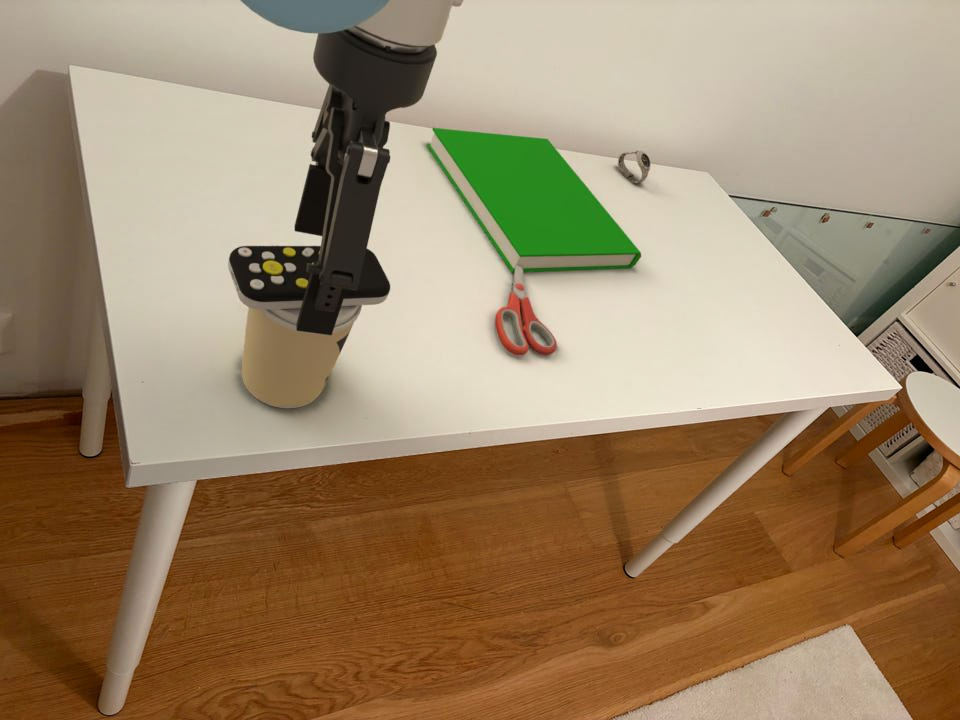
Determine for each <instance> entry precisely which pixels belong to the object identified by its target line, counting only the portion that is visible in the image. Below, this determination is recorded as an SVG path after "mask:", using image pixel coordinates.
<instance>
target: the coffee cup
mask: <svg viewBox="0 0 960 720" xmlns="http://www.w3.org/2000/svg"><path fill="white" fill-rule="evenodd" d="M362 307H363V305H356V306H341V309H340V312H339V315H338V318H337V321H336V324H335V327H334V330H333V333H332V335H325V334H317V333H309V332H302V331H297V330H296V323H297V320H298V316H299V313H300V309H301V308H292V309H271V310H256V309H252V308H250V307H248V309H247V316H246V325H245V333H244V342H243V350H242V359H241V379H242V382H243V384H244V386H245V388H246V389H247V391H248V392H249V394H251V395H252V396H253V397H254V398H255V399H257V400H258V401H260V402H262V403H263V404H265V405H268V406H270V407H275V408H279V409H296V408H302V407H305V406H307V405H309V404H311V403H312V402H314V401H315V400H317V398H319V396H320V395H321V393H322V392H323V391H324V388H325V386H326V385H327V382H328V380H329V378H330V376H331V375H332V374H331V373H332V372H333V370H334V367H335V365H336V363H337V361H338V359H339V357H340V355H341V352H342V350H343V348H344V346H345V343H346V341H347V339H348V337H349V336H350V333H351V331H352V328H353V326H354V323H355V322H356V320H358V317H359V316H360V315H361V314H360V313H361V310H362Z"/></svg>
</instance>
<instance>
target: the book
mask: <svg viewBox="0 0 960 720" xmlns="http://www.w3.org/2000/svg"><path fill="white" fill-rule="evenodd" d="M432 132H433V135H432V138H431V141H430V143H429V142H428V143H426V147H427V148H428V150H429V152H430V153H431V155H433V157H434V159H435V160H436V161H437V163H438V164H439V166H440V168H441V169H442V171H443V172H444V174H445V175H446V177H447V178H448V180H449V181H450V183H451V185H453V187H454V188H455V190H456V192H457V193H458V195H459V196H460V197H461V199H462V200H463V202H464V203H465V205H466V207H467V208H468V209H469V211H470V212H471V214H472V216H473V217H474V219H475V220H476V222H477V223H478V224H479V226H480V227H481V229H482V230H483V232H484V233H485V235H486V236H487V238H488V240H489V241H490V242H491V244H492V245H493V247H494V249H495V250H496V251H497V253H498V254H499V256H500V257H501V260H503V262H504V263H505V264H506V266H507V268H508V269H509V270H510V272H511V273H514V272H515V265H523V273H535V272H563V271H565V272H567V271H591V270H593V271H594V270H620V269H622V270H624V269H632V268H633V267H635V266H636V265H637V263H638V262H639V260H640V259H641V257H642V252H641V251H640V250H639V248H638V247H637V246H636V244H635V243H634V242H633V241H632V240H631V238H630V237H629V236H628V235H627V234H626V233H625V231H624V230H623V229H622V228H621V226H620V225H619V224H618V223H617V221H615V219H614V218H613V217H612V215H611V214H610V213H609V212H608V210H607V209H606V208H605V207H604V205H603V204H602V203H601V202H600V201H599V200H598V198H597V197H596V196H595V194H593V192H592V191H591V190H590V189H589V187H588V186H587V185H586V183H584V181H583V180H582V179H581V178H580V176H579V175H578V174H577V173H576V172H575V170H574V169H573V168H572V166H570V164H569V163H568V162H567V160H565V158H564V157H563V156H562V155H561V154H560V152H559V150H557V149H556V147H555V146H554V145H553V144H552V143H551V141H550V140H549V138H542V137H541V138H540V137H531V136H521V135H511V134H501V133H491V132H490V133H488V132H480V131H469V130H461V129H460V130H459V129H451V128H450V129H449V128H438V127H432Z"/></svg>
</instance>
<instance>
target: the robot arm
mask: <svg viewBox="0 0 960 720" xmlns="http://www.w3.org/2000/svg"><path fill="white" fill-rule="evenodd" d="M239 1H240V2H241V3H242V4H244V5H245V6H246V7H247V8H248V9H249V10H250V11H252V12H253V13H255V14H256V15H258V16H259V17H260V18H262V19H263V20H265V21H267V22H270V23H271V24H273V25H275V26H277V27H280V28H282V29H286V30H289V31H293V32H298V33H304V34H314V35H315V34H316V35H317V36H316V41H315V45H314V49H313V56H312V60H313V65H314V67H315V69H316V71H317V72H318V74H319V75H320V77H322V79H323V80H324V81H325V82H326V83H327V84H328V87H327V91H326V93H325V96H324V99H323V102H322V105H321V108H320V111H319V114H318V117H317V120H316V123H315V126H314V129H313V131H312V132H311V139H312V141H311V142H312V143H314V146H313V147H312V149H311V151H310V158H311V162H315V164H312V163H309V166H308V170H307V173H306V178H305V182H304V186H303V189H302V194H301V198H300V202H299V205H298V209H297V214H296V219H295V221H294V222H295V223H294V232H295V233H296V232H297V233H301V234H306V235H313V236H318V237H321V241H320V246H321V247H320V254H319V260H318V261H315V260H314V263H313V264H310V263H307V268H306V271H307V273H311V274H310V277H309V281H308V284H307V288H306V291H305V295H304V298H303V302H302V306H301V309H300V313H299V316H298V320H297V323H296V330H297V331H302V332H309V333H317V334H325V335H332V333H333V330H334V327H335V324H336V321H337V318H338V315H339V312H340V309H341V306H342V302H343V299H344V296H345V293H346V290H347V289H351V290H357V289H358V285H359V284H360V276H361V271H362V267H363V263H364V258H365V254H366V249H368V244H369V240H370V236H371V231H372V227H373V222H374V218H375V214H376V210H377V204H378V200H379V196H380V191H381V186H382V184H383V180H384V178H385V174H386V171H387V168H388V164H390V162H391V152H390V149H389V148H385V146H386V144H387V143H388V141H389V134H390V129H391V123H390V121H389V120H386V115H387V113H389V112H391V111H393V110H397V109H405V108H409V107H412V106H414V105H416V104H417V103H419V102H420V101H421V100H422V98H423V96H424V93H425V91H426V88H427V85H428V82H429V79H430V76H431V74H432V71H433V68H434V64H435V61H436V60H437V59H436V58H437V55H438V51H437V50H438V49H437V48H436V45H437V44H439V42H440V41H441V40H442V38H443V36H444V33H445V29H446V26H447V24H448V21H449V18H450V13H451V10H452V8H453V7H456V8H457V7H459V8H460V7H461V6H462V4H463V2H464V0H239Z"/></svg>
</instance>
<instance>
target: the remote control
mask: <svg viewBox="0 0 960 720" xmlns="http://www.w3.org/2000/svg"><path fill="white" fill-rule="evenodd" d="M320 247H321V245H241V246H238V247H236V248H234V249H233V250H232V251H231V252H230V254H229V258H228V261H227V267H228V271H229V274H230V277H231V279H232V282H233V286H234V288H235V291H236V294H237V297H238V299H239V301H240V302H241V303H242V304H243V305H245V306H246V307H248V308H249V307H250V308H252V309H256V310H271V309H292V308H301V306H302V302H303V298H304V295H305V291H306V288H307V284H308V281H309V277H310V274H311V273H307V271H306V268H307V263H310V264H313V263H314V260H315V261H318V260H319V254H320ZM390 292H391V283H390V280H389V278H388V277H387V274H386V272H385V271H384V269H383V267H382V265H381V263H380V261H379V259H378V257H377V255H376V254H375V253H374V251H372V250H370V249H369V248H367V249H366V254H365V258H364V263H363V267H362V271H361V276H360V284H359V285H358V289H357V290H351V289H347V290H346V293H345V296H344V299H343V302H342V306H356V305H362V306H373V305H374V306H375V305H380V304H382V303H384V302H385V301H386V300H387V299H388V296H389V294H390Z"/></svg>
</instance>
